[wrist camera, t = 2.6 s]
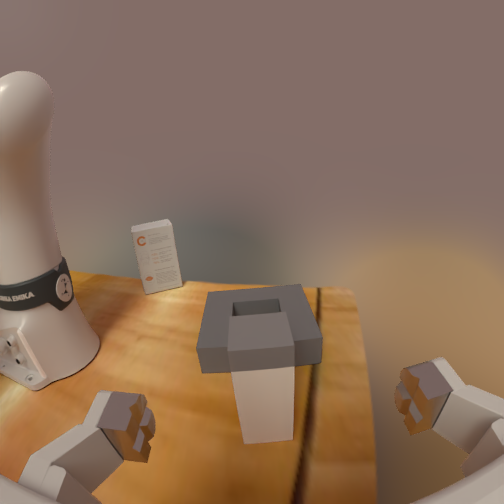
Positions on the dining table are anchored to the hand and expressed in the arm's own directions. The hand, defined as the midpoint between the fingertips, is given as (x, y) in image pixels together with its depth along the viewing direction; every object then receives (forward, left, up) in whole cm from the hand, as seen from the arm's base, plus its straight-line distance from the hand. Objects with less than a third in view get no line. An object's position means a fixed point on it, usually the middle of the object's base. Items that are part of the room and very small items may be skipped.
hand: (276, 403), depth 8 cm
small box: (-19, +48, -18) cm, 55 cm away
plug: (0, +12, -18) cm, 22 cm away
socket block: (0, +28, -18) cm, 33 cm away
